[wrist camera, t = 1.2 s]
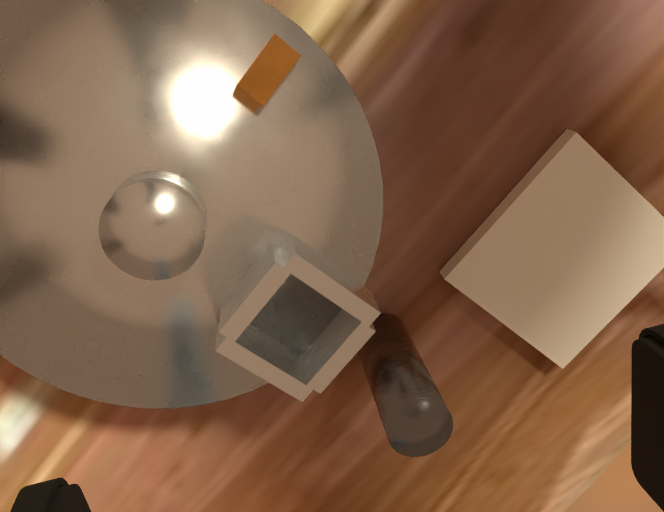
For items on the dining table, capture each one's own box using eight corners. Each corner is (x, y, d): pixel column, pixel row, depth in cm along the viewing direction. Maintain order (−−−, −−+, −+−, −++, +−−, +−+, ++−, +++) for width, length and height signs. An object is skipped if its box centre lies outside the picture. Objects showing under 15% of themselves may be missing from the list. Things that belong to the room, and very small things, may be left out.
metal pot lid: (84, -157, 27) (52, -190, 22) (464, 169, 35) (497, 194, 31) (-162, 249, 32) (-229, 290, 28) (221, 451, 40) (218, 508, 36)
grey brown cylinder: (378, 304, 41) (418, 390, 32) (416, 331, 42) (466, 421, 33) (344, 342, 41) (373, 437, 32) (383, 368, 43) (422, 466, 34)
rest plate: (566, 128, 38) (576, 132, 37) (677, 235, 42) (688, 242, 41) (438, 271, 40) (444, 279, 39) (554, 359, 44) (562, 368, 43)
